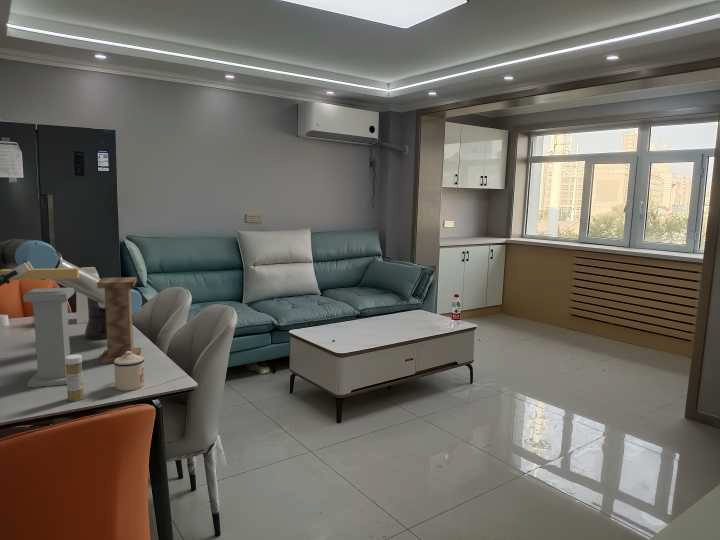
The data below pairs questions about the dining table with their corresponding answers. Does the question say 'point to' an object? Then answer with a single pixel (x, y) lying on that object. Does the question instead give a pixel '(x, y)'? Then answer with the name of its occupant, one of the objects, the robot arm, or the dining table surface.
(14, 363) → the dining table surface
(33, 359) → the dining table surface
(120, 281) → the walnut stand
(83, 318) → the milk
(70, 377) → the sprinkles bottle
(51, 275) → the ochre bar
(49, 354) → the grey stand
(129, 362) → the teacup with lid
